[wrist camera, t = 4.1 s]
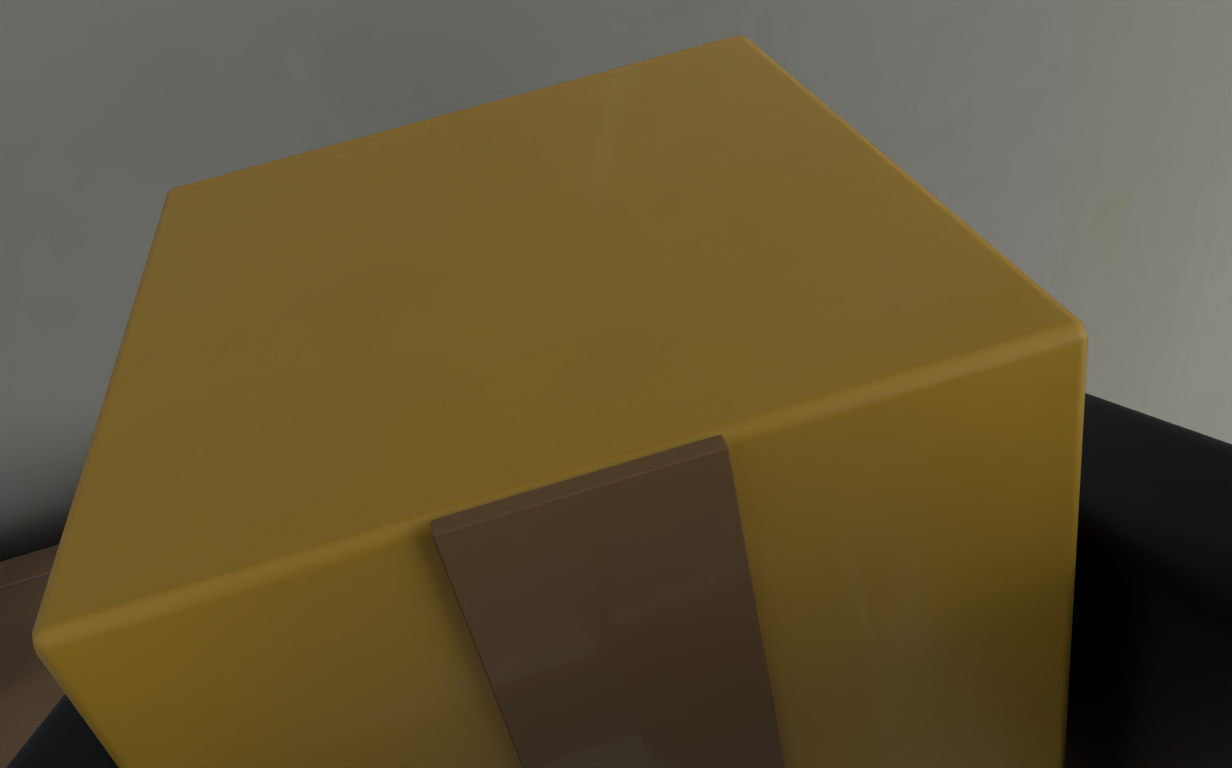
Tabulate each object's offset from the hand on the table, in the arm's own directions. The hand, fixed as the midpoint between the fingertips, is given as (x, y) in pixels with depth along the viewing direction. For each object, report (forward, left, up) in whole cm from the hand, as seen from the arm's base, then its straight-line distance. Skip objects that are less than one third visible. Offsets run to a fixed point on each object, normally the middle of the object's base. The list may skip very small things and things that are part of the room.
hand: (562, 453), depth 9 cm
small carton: (0, 0, -1) cm, 1 cm away
